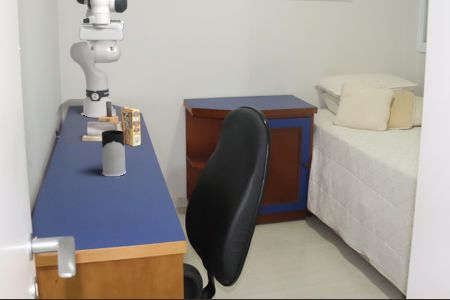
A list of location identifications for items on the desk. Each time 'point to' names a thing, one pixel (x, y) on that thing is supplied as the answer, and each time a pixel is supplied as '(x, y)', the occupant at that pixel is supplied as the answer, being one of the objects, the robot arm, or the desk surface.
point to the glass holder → (113, 153)
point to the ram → (110, 114)
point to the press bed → (99, 130)
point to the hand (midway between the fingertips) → (102, 50)
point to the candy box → (131, 126)
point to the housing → (104, 120)
